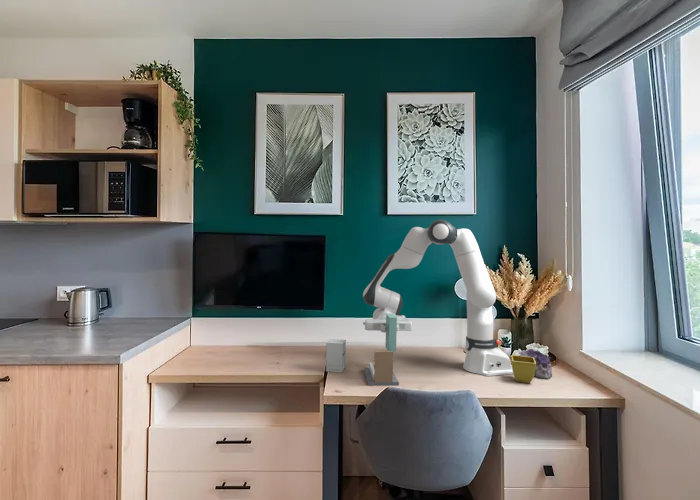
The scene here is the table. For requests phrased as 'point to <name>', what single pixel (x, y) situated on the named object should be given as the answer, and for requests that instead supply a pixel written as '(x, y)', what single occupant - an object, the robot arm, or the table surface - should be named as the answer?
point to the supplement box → (335, 355)
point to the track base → (381, 370)
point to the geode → (540, 363)
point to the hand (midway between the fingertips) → (391, 329)
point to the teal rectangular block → (391, 332)
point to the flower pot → (523, 368)
